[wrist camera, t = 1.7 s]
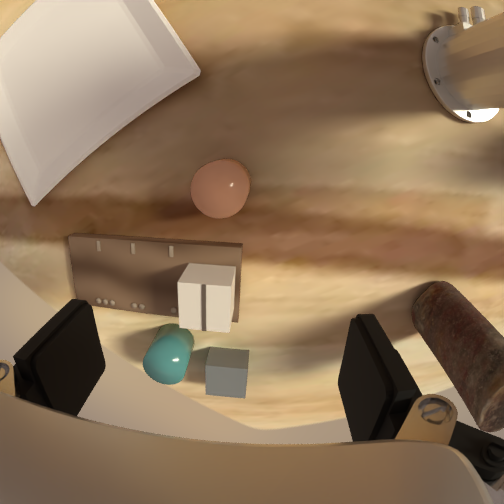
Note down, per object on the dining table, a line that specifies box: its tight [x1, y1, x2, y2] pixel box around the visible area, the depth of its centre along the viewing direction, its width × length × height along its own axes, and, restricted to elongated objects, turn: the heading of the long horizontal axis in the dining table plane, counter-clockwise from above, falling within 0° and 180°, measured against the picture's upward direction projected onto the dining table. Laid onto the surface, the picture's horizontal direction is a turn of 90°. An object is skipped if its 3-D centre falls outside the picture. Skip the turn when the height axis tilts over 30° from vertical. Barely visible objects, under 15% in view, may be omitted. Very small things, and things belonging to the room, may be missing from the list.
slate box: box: [205, 347, 249, 398], centre depth 38 cm, size 5×5×4 cm
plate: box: [0, 0, 201, 206], centre depth 27 cm, size 26×26×2 cm
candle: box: [412, 281, 504, 432], centre depth 27 cm, size 8×7×20 cm
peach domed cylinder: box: [190, 159, 251, 218], centre depth 30 cm, size 5×5×6 cm
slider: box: [178, 263, 236, 333], centre depth 32 cm, size 5×5×5 cm
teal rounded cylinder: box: [143, 324, 194, 385], centre depth 36 cm, size 5×5×6 cm
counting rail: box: [68, 233, 243, 322], centre depth 35 cm, size 9×21×2 cm, turn 87°
